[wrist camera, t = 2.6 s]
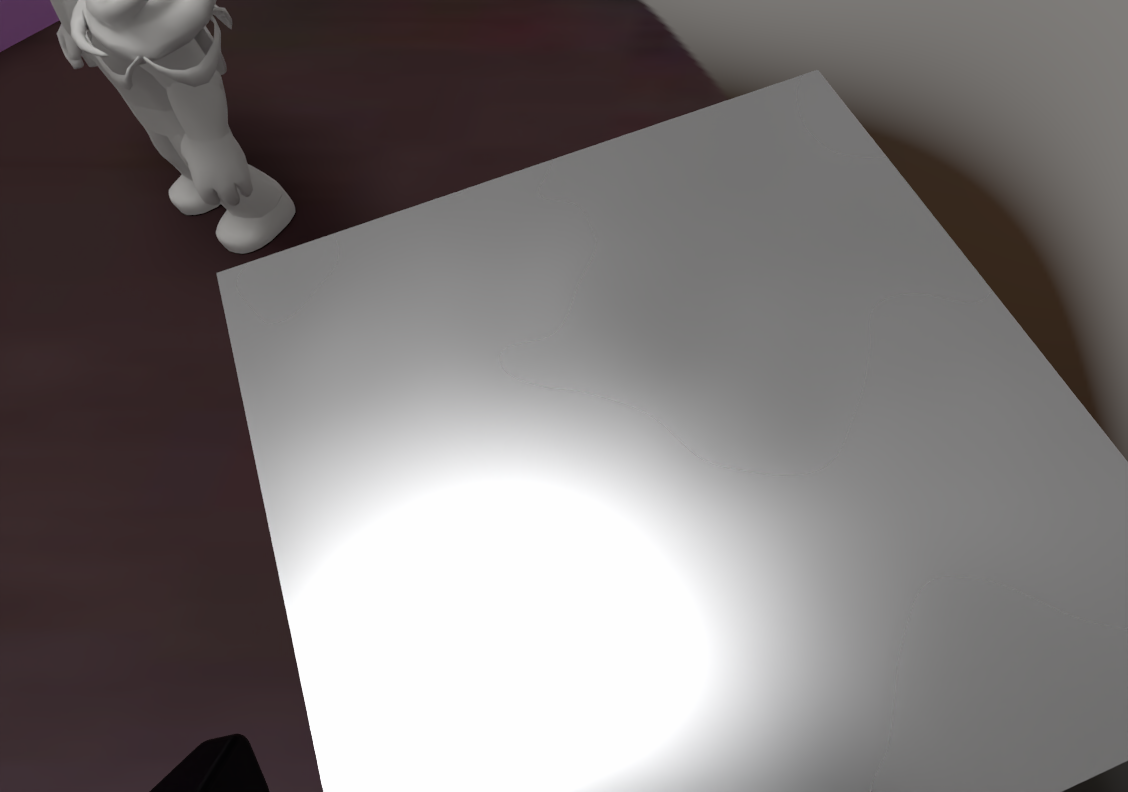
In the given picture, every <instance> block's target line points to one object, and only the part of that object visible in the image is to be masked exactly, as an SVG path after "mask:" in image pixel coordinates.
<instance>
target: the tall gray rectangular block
mask: <svg viewBox="0 0 1128 792" xmlns="http://www.w3.org/2000/svg"><path fill="white" fill-rule="evenodd" d="M217 278H218V283H219V287H220V292H221V297H222V302H223V307H224V312H225V317H226V321H227V326H228V331H229V336H230V341H231V346H232V350H233V355H234V360H235V365H236V370H237V375H238V380H239V384H240V389H241V394H242V399H243V404H244V409H245V413H246V418H247V423H248V428H249V433H250V438H251V442H252V447H253V452H254V457H255V462H256V467H257V472H258V476H259V481H260V486H261V491H262V496H263V501H264V505H265V510H266V515H267V520H268V525H269V530H270V535H271V539H272V544H273V549H274V554H275V559H276V564H277V568H278V573H279V578H280V583H281V588H282V593H283V597H284V602H285V607H286V612H287V617H288V622H289V627H290V631H291V636H292V641H293V646H294V651H295V656H296V660H297V665H298V670H299V675H300V680H301V685H302V689H303V694H304V699H305V704H306V709H307V714H308V719H309V723H310V728H311V733H312V738H313V743H314V748H315V752H316V757H317V762H318V767H319V772H320V777H321V782H322V786H323V791H324V792H1062V791H1064V790H1066V789H1069V788H1071V787H1073V786H1075V785H1077V784H1079V783H1081V782H1083V781H1086V780H1088V779H1090V778H1092V777H1094V776H1096V775H1098V774H1100V773H1103V772H1105V771H1107V770H1109V769H1111V768H1113V767H1115V766H1118V765H1120V764H1122V763H1124V762H1126V761H1128V462H1127V461H1126V459H1125V458H1124V457H1123V456H1122V454H1121V453H1120V452H1119V450H1118V449H1117V448H1116V447H1115V445H1114V444H1113V443H1112V442H1111V440H1110V439H1109V438H1108V437H1107V435H1106V434H1105V433H1104V431H1103V430H1102V429H1101V428H1100V426H1099V425H1098V424H1097V423H1096V421H1095V420H1094V419H1093V418H1092V416H1091V415H1090V414H1089V413H1088V411H1087V410H1086V409H1085V407H1084V406H1083V405H1082V404H1081V402H1080V401H1079V400H1078V399H1077V397H1076V396H1075V395H1074V394H1073V392H1072V391H1071V390H1070V389H1069V387H1068V386H1067V385H1066V383H1065V382H1064V381H1063V380H1062V378H1061V377H1060V376H1059V375H1058V373H1057V372H1056V371H1055V370H1054V368H1053V367H1052V366H1051V364H1050V363H1049V362H1048V361H1047V359H1046V358H1045V357H1044V355H1043V354H1042V353H1041V352H1040V350H1039V349H1038V348H1037V347H1036V346H1035V344H1034V343H1033V342H1032V340H1031V339H1030V338H1029V336H1028V335H1027V334H1026V333H1025V332H1024V330H1023V329H1022V328H1021V326H1020V325H1019V324H1018V323H1017V321H1016V320H1015V319H1014V317H1013V316H1012V315H1011V314H1010V312H1009V311H1008V310H1007V309H1006V307H1005V306H1004V305H1003V304H1002V302H1001V301H1000V300H999V299H998V297H997V296H996V295H995V293H994V292H993V291H992V290H991V288H990V287H989V286H988V285H987V283H986V282H985V281H984V280H983V278H982V277H981V276H980V274H979V273H978V272H977V271H976V269H975V268H974V267H973V266H972V264H971V263H970V262H969V261H968V259H967V258H966V257H965V255H964V254H963V253H962V252H961V250H960V249H959V248H958V247H957V245H956V244H955V243H954V242H953V240H952V239H951V238H950V236H949V235H948V234H947V233H946V231H945V230H944V229H943V228H942V226H941V225H940V224H939V223H938V221H937V220H936V219H935V218H934V216H933V215H932V214H931V212H930V211H929V210H928V209H927V207H926V206H925V205H924V204H923V202H922V201H921V200H920V199H919V197H918V196H917V195H916V193H915V192H914V191H913V190H912V189H911V187H910V186H909V185H908V183H907V182H906V181H905V179H904V178H903V177H902V176H901V174H900V173H899V172H898V171H897V169H896V168H895V167H894V166H893V164H892V163H891V162H890V160H889V159H888V158H887V157H886V155H885V154H884V153H883V152H882V150H881V149H880V148H879V147H878V145H877V144H876V143H875V142H874V140H873V139H872V138H871V136H870V135H869V134H868V133H867V131H866V130H865V129H864V128H863V126H862V125H861V124H860V122H859V121H858V120H857V119H856V118H855V116H854V115H853V114H852V112H851V111H850V110H849V109H848V107H847V106H846V105H845V103H844V102H843V101H842V100H841V98H840V97H839V96H838V95H837V93H836V92H835V91H834V90H833V88H832V87H831V86H830V84H829V83H828V82H827V81H826V79H825V78H824V77H823V76H822V74H821V73H820V72H819V71H818V70H816V71H813V72H810V73H807V74H804V75H801V76H798V77H795V78H792V79H789V80H786V81H783V82H780V83H777V84H774V85H771V86H768V87H766V88H762V89H760V90H756V91H754V92H751V93H748V94H745V95H742V96H739V97H736V98H733V99H730V100H727V101H724V102H721V103H718V104H715V105H712V106H709V107H706V108H703V109H700V110H697V111H694V112H691V113H689V114H686V115H683V116H680V117H677V118H674V119H671V120H668V121H665V122H662V123H659V124H656V125H653V126H650V127H647V128H644V129H641V130H638V131H635V132H632V133H629V134H626V135H624V136H621V137H618V138H615V139H612V140H609V141H606V142H603V143H600V144H597V145H594V146H591V147H588V148H585V149H582V150H579V151H576V152H573V153H570V154H567V155H564V156H561V157H558V158H556V159H553V160H550V161H547V162H544V163H541V164H538V165H535V166H532V167H529V168H526V169H523V170H520V171H517V172H514V173H511V174H508V175H505V176H502V177H499V178H496V179H493V180H491V181H488V182H485V183H482V184H479V185H476V186H473V187H470V188H467V189H464V190H461V191H458V192H455V193H452V194H449V195H446V196H443V197H440V198H437V199H434V200H431V201H428V202H426V203H423V204H420V205H417V206H414V207H411V208H408V209H405V210H402V211H399V212H396V213H393V214H390V215H387V216H384V217H381V218H378V219H375V220H372V221H369V222H366V223H363V224H361V225H358V226H355V227H352V228H349V229H346V230H343V231H340V232H337V233H334V234H331V235H328V236H325V237H322V238H319V239H316V240H313V241H310V242H307V243H304V244H301V245H298V246H296V247H293V248H290V249H287V250H284V251H281V252H278V253H275V254H272V255H269V256H266V257H263V258H260V259H257V260H254V261H251V262H248V263H245V264H242V265H239V266H236V267H233V268H231V269H228V270H225V271H222V272H219V273H217Z"/></svg>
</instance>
